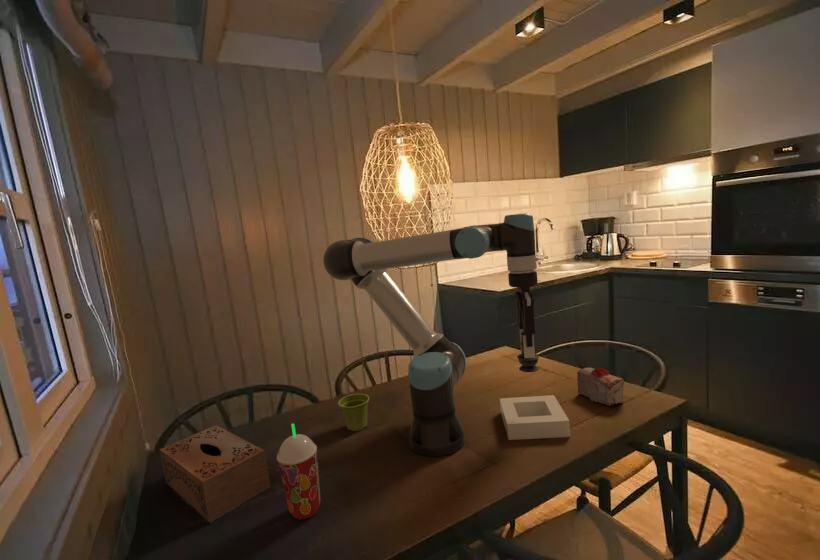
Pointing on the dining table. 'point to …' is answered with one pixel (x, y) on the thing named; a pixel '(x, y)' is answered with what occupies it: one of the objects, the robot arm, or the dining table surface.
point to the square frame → (534, 418)
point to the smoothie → (300, 475)
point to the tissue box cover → (215, 470)
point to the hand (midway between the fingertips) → (527, 354)
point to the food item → (600, 386)
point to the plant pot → (355, 411)
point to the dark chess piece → (527, 361)
